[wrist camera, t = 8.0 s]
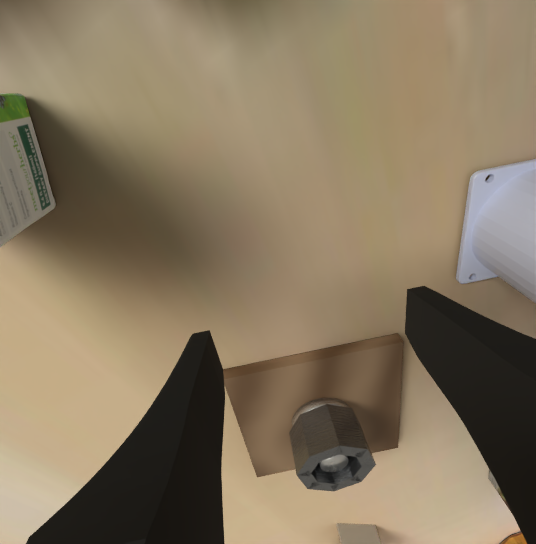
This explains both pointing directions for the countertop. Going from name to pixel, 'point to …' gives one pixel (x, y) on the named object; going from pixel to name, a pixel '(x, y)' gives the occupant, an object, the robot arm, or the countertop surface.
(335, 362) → the board
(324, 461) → the piston post
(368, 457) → the ring
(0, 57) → the countertop surface
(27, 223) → the syrup box
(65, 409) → the countertop surface
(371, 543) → the architectural model
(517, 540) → the pancake mix bag
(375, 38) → the countertop surface
